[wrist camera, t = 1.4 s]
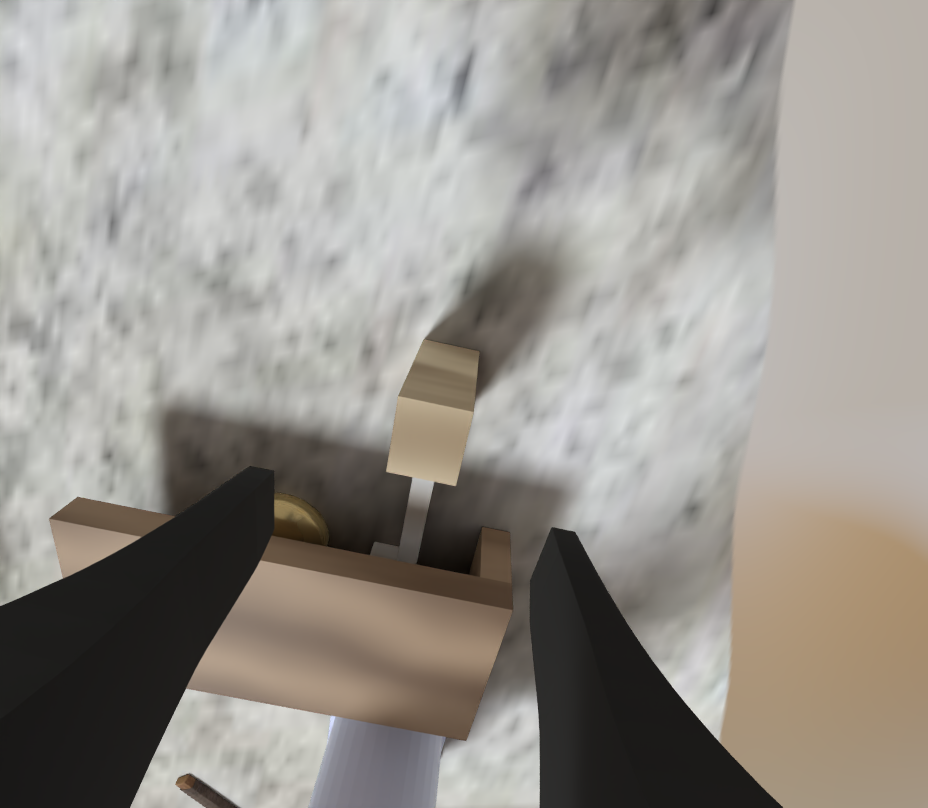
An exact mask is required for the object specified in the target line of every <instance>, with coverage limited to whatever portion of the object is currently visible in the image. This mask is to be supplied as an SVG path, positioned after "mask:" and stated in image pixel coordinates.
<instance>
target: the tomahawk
mask: <svg viewBox="0 0 928 808" xmlns="http://www.w3.org/2000/svg"><path fill="white" fill-rule="evenodd" d="M175 785H177V786H178V787H179V788H180V790H182V791H183V792H184V793H186V794H187V795H188V796H191V798H192V799H195V801H198V802H199V803H200V804H202V805H203V806H204V807H206V808H236V807H235V806H233V805H232V804H230V803H229V802H228V801H226V800H225V799H223V798H222V797H221V796H219V795H218V794H216V793H215V792H214V791H212V790H211V789H209V788H208V787H207V786H205V785H204V784H202V783H201V782H200V781H198V780H197V779H195V778H193V777H192V776H191V775H185V776H182V777H180V778H178V780H177V781H176V784H175Z"/></svg>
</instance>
